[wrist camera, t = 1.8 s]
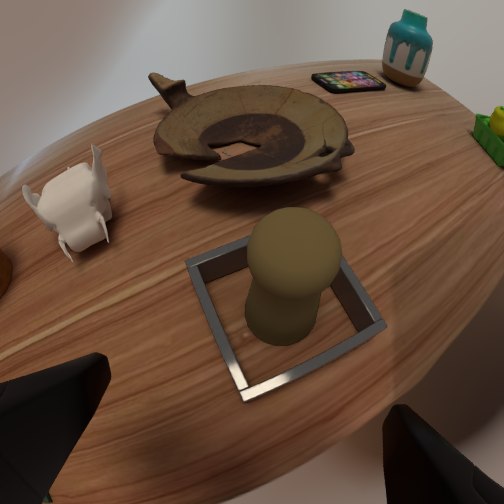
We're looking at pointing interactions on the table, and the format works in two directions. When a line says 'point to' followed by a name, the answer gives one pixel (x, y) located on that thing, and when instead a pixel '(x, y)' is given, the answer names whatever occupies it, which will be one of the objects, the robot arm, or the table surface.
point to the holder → (365, 323)
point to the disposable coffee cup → (4, 272)
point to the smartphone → (347, 81)
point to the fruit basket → (491, 134)
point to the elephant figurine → (75, 204)
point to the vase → (407, 49)
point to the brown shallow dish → (251, 133)
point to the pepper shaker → (289, 273)
